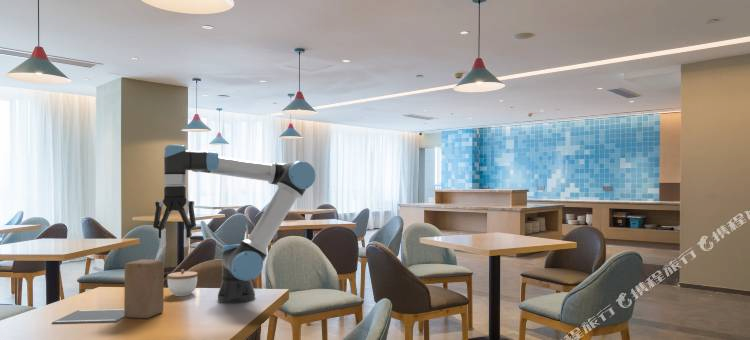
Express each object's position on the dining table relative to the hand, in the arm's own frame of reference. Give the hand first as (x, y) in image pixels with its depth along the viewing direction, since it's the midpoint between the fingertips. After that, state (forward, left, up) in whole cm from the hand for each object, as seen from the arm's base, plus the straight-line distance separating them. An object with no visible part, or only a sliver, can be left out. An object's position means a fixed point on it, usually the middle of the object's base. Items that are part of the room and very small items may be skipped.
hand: (174, 246), depth 186 cm
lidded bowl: (+8, -35, -25) cm, 44 cm away
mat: (+28, +1, -25) cm, 38 cm away
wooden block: (+11, 0, -25) cm, 28 cm away
